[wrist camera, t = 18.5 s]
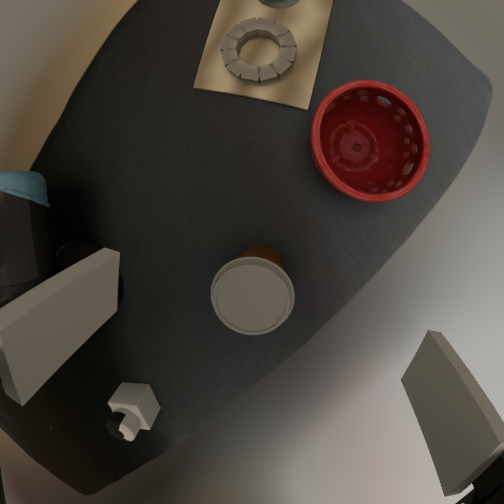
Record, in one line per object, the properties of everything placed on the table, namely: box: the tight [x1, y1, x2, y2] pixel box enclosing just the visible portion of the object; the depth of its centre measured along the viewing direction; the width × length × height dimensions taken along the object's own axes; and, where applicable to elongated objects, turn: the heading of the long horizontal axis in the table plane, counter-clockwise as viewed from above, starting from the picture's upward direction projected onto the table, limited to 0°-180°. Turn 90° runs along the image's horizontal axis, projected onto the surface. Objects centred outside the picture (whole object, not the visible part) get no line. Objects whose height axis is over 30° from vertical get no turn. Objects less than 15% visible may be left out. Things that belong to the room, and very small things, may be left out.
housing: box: [193, 0, 333, 111], centre depth 32 cm, size 16×24×4 cm, turn 167°
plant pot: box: [310, 80, 430, 202], centre depth 32 cm, size 13×13×12 cm
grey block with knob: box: [106, 382, 161, 441], centre depth 50 cm, size 7×7×12 cm
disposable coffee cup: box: [211, 245, 294, 335], centre depth 38 cm, size 10×10×12 cm
